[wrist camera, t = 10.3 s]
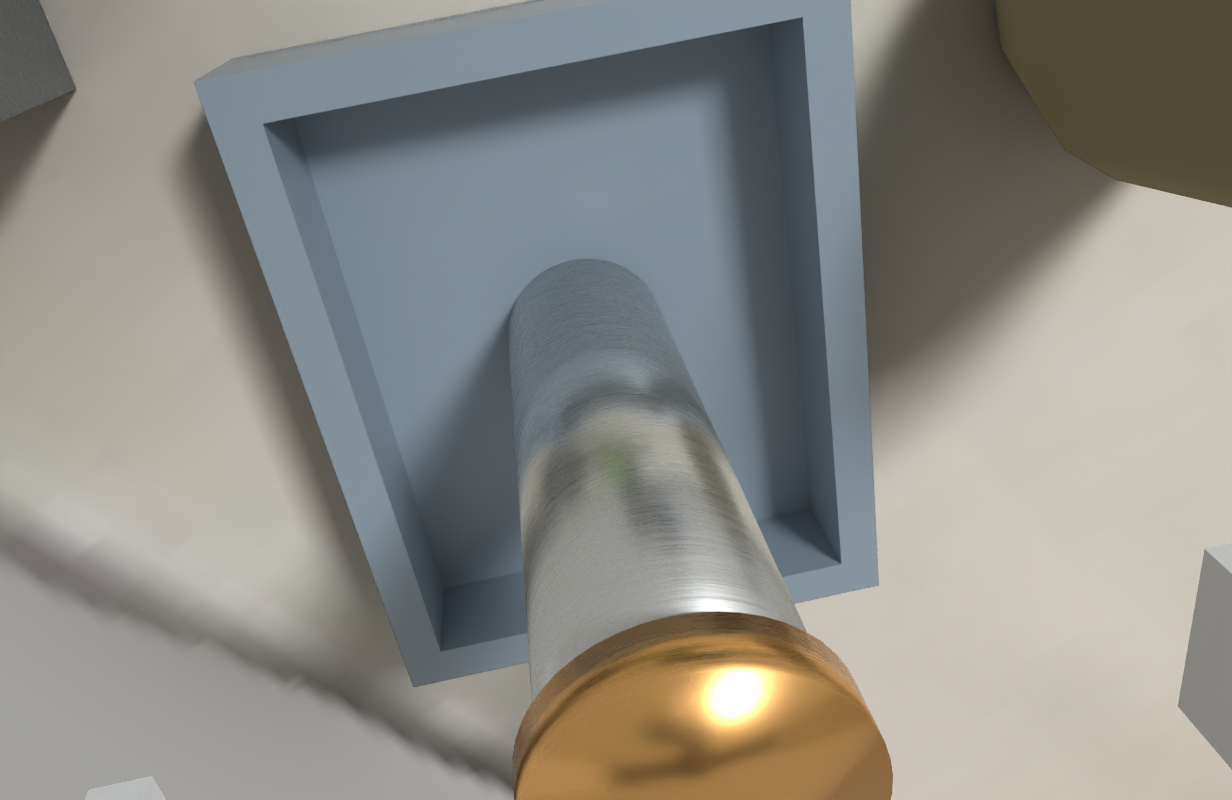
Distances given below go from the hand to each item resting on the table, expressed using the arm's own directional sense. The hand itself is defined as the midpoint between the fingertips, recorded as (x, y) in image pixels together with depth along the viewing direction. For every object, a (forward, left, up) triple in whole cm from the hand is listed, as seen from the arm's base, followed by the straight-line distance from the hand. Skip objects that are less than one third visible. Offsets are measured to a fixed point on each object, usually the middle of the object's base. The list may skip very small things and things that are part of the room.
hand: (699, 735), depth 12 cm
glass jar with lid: (0, 0, -14) cm, 14 cm away
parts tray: (0, 0, -15) cm, 15 cm away
